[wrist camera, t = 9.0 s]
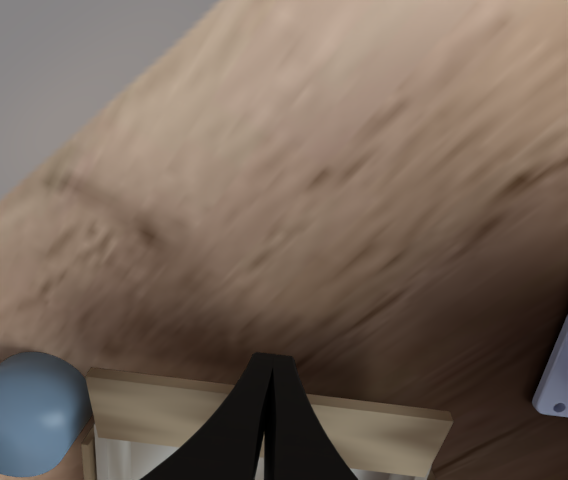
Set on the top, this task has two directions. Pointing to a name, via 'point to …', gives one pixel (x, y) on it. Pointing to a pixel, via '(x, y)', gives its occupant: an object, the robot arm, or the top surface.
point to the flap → (209, 396)
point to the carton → (145, 457)
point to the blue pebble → (39, 412)
